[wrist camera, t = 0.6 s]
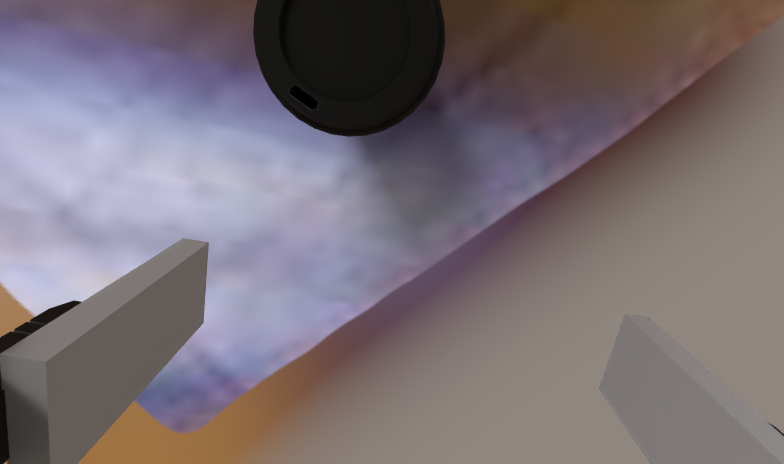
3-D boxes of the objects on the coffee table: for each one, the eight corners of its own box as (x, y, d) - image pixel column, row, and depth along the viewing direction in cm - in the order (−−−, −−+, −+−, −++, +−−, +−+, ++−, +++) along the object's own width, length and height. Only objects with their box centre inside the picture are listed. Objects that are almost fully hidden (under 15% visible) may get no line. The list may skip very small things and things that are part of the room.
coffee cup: (455, 47, 36) (491, 6, 21) (382, 151, 38) (370, 177, 23) (352, -34, 34) (315, -137, 20) (282, 78, 37) (204, 58, 22)
